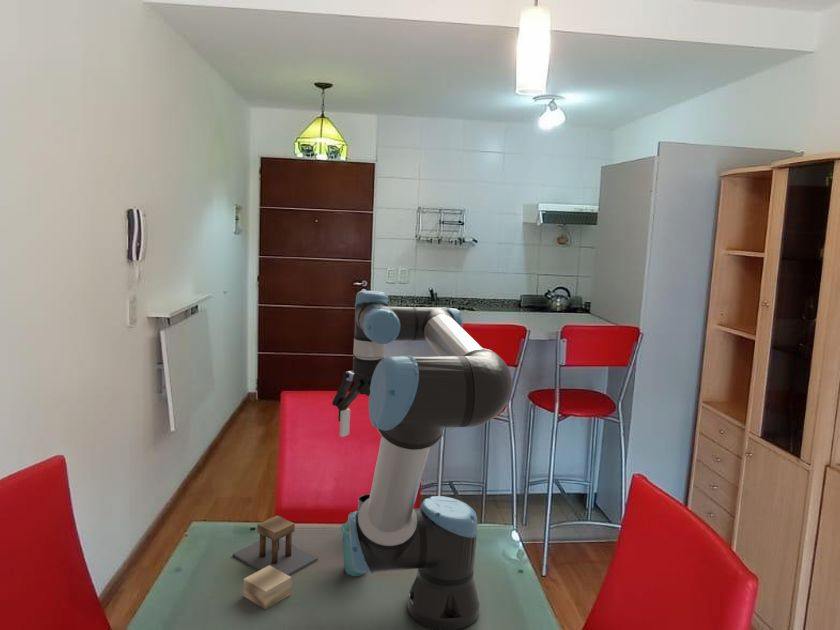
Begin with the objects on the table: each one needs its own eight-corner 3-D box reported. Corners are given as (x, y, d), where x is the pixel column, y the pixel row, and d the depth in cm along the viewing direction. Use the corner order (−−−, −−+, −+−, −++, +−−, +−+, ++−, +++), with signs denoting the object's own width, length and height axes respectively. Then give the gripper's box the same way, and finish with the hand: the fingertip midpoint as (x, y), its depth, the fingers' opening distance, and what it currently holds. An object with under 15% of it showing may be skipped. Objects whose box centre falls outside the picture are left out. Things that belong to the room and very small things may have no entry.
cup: (367, 591, 140) (370, 527, 138) (332, 587, 141) (334, 523, 138) (376, 557, 154) (379, 498, 152) (344, 554, 154) (346, 495, 152)
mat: (317, 560, 151) (317, 557, 151) (278, 581, 142) (279, 579, 142) (272, 537, 161) (272, 534, 161) (232, 556, 151) (232, 553, 151)
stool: (293, 555, 152) (294, 523, 150) (274, 565, 147) (274, 532, 146) (276, 546, 155) (277, 515, 154) (256, 556, 150) (257, 524, 149)
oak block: (291, 594, 137) (291, 577, 137) (265, 609, 132) (265, 591, 131) (269, 582, 141) (269, 565, 141) (243, 596, 136) (243, 578, 135)
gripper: (421, 363, 148) (416, 451, 151) (341, 345, 162) (337, 426, 165) (401, 368, 142) (396, 460, 145) (319, 349, 156) (317, 433, 159)
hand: (365, 442), depth 155 cm, fingers open, 13 cm apart
